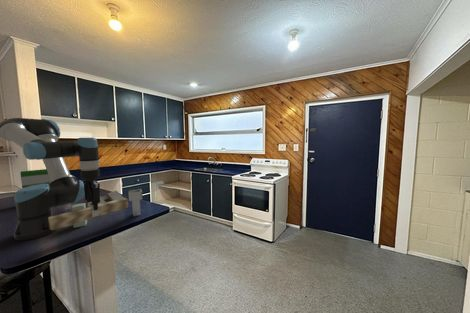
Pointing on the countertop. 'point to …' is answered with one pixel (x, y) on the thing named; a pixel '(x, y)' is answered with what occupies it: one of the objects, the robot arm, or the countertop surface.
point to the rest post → (77, 207)
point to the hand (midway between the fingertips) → (93, 215)
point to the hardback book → (34, 177)
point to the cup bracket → (135, 200)
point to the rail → (85, 213)
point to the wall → (110, 197)
